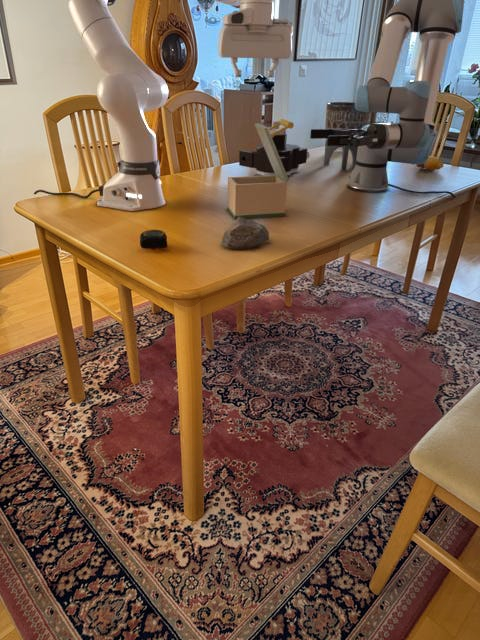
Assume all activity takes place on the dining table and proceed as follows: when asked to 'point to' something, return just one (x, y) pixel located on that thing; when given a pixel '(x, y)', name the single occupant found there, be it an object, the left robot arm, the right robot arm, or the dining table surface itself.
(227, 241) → the rock
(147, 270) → the dining table surface
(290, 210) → the dining table surface
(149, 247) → the tape measure
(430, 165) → the toy
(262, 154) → the mechanical component
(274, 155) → the lid
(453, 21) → the right robot arm
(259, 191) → the chest
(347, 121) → the planter
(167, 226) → the dining table surface
